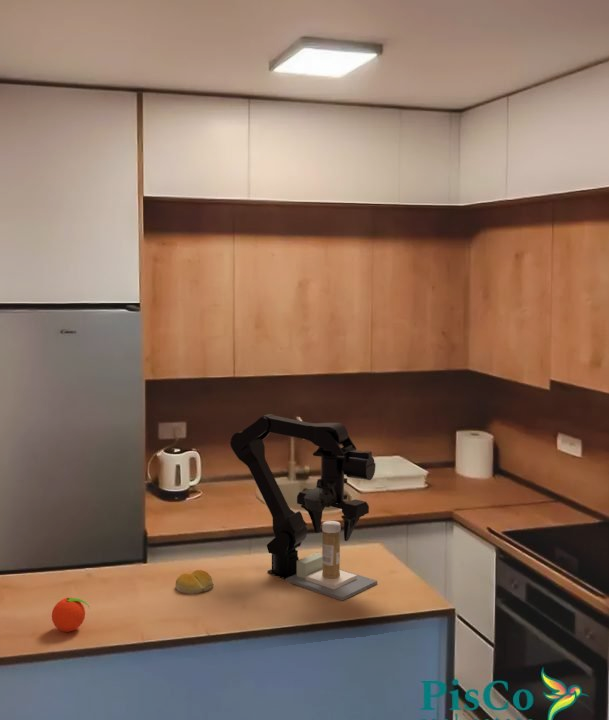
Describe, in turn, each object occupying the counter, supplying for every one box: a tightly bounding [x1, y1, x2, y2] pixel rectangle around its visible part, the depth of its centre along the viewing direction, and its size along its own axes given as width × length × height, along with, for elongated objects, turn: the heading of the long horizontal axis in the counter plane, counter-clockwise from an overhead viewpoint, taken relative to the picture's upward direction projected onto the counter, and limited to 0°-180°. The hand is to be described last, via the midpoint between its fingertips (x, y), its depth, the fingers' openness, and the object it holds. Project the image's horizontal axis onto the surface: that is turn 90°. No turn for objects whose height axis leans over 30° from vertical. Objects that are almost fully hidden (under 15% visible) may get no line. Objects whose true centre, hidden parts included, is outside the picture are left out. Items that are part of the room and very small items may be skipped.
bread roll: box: [175, 569, 214, 595], centre depth 197 cm, size 8×9×4 cm
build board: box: [285, 552, 378, 601], centre depth 201 cm, size 18×14×5 cm
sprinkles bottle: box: [321, 520, 341, 578], centre depth 200 cm, size 5×5×13 cm
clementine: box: [51, 597, 90, 633], centre depth 173 cm, size 8×7×7 cm
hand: (331, 536), depth 200 cm, fingers open, 9 cm apart
